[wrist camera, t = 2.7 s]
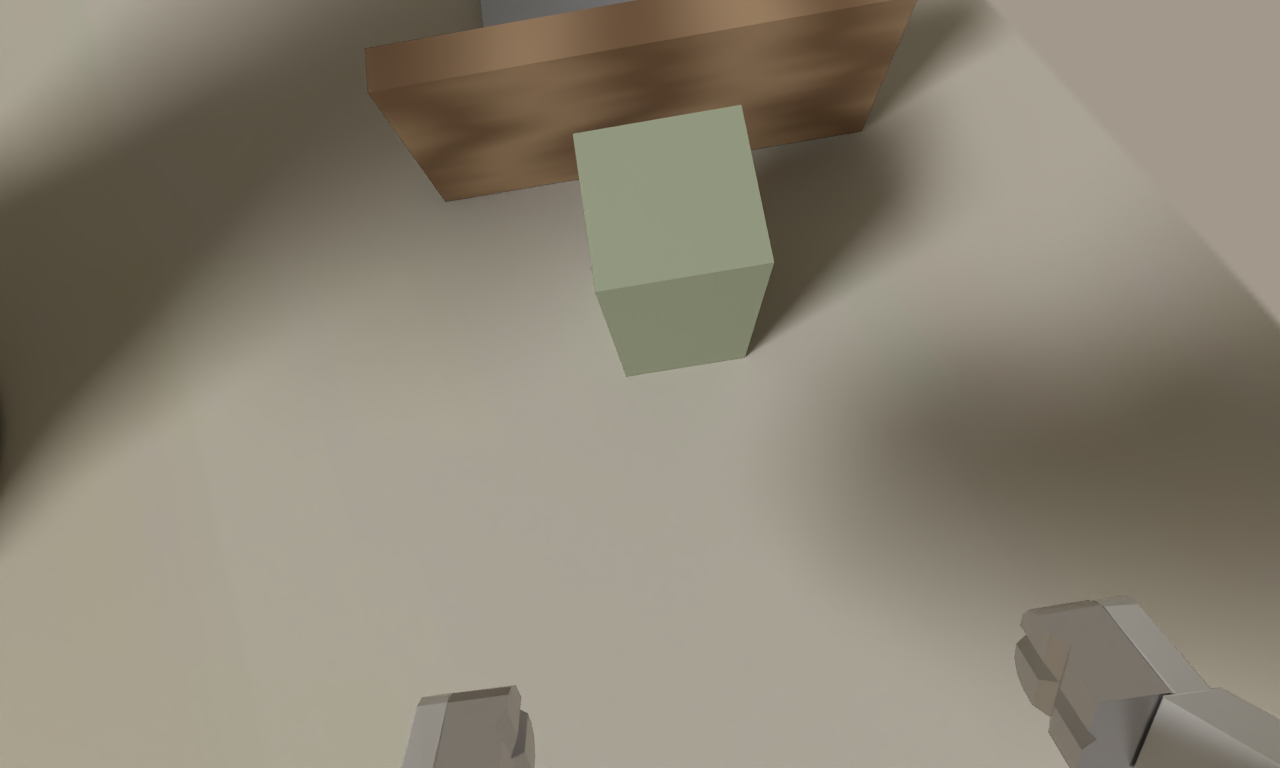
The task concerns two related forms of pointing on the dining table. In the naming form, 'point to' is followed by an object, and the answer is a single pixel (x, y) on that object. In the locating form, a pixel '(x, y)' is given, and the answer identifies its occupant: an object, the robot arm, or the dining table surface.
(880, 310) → the dining table surface
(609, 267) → the olive letter block
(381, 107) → the walnut screen
